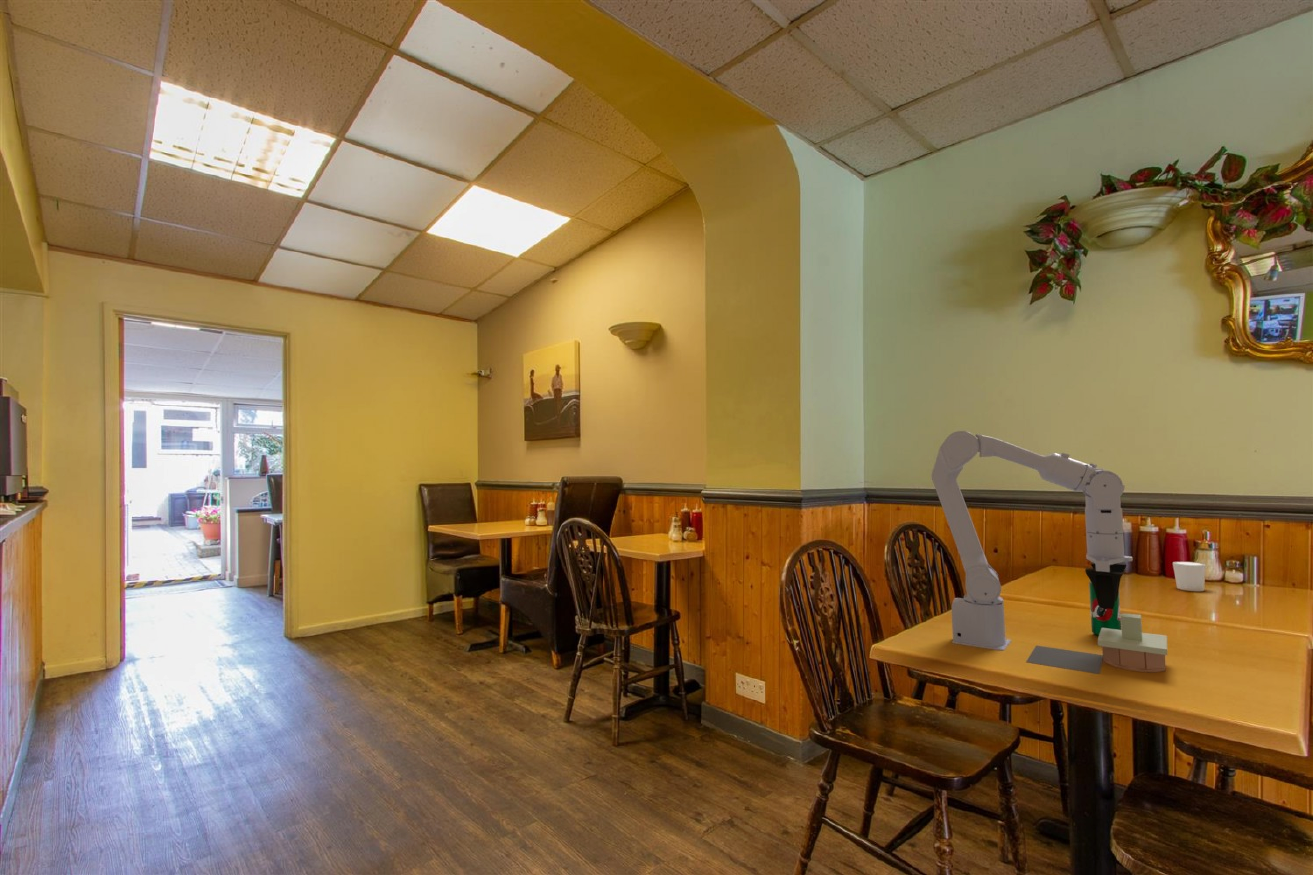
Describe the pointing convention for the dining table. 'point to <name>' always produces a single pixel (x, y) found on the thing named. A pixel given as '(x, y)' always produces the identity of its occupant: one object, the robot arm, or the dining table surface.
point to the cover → (1132, 637)
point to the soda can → (1103, 614)
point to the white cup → (1189, 575)
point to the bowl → (1134, 660)
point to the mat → (1066, 659)
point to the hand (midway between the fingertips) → (1108, 603)
